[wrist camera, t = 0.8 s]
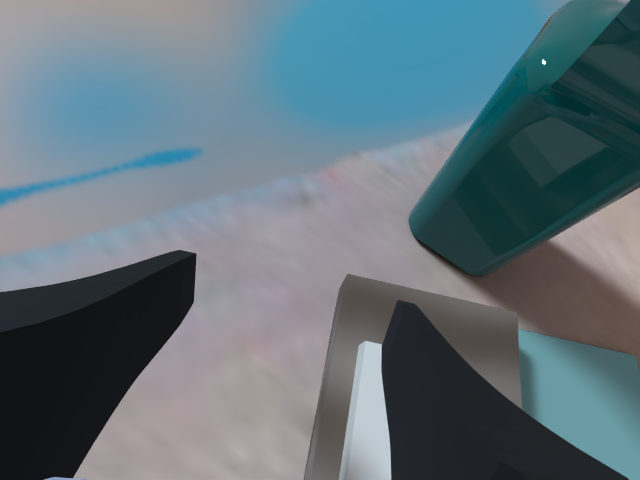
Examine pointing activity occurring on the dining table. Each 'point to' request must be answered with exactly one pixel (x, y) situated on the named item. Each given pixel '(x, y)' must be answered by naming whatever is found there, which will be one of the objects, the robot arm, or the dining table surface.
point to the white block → (367, 421)
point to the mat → (584, 397)
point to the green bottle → (543, 142)
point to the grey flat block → (371, 325)
